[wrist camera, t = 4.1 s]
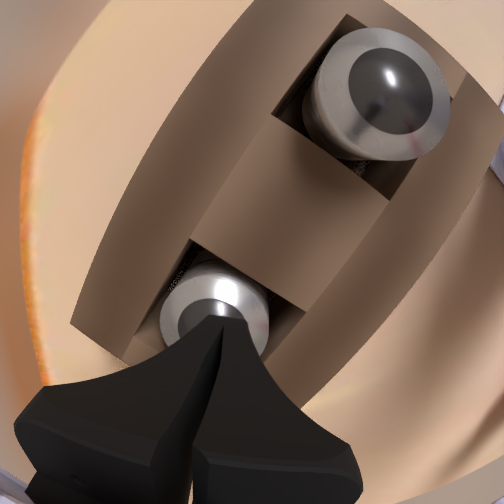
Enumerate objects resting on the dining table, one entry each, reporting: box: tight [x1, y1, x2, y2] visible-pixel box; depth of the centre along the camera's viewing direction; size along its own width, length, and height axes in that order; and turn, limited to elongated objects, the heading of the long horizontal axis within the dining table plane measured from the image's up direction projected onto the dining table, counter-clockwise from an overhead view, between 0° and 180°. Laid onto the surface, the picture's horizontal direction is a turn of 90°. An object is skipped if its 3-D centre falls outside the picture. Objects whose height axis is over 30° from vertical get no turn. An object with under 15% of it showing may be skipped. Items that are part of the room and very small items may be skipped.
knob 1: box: [160, 249, 269, 356], centre depth 16 cm, size 5×5×6 cm
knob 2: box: [302, 28, 451, 161], centre depth 12 cm, size 5×5×6 cm
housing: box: [70, 0, 504, 409], centre depth 15 cm, size 13×22×6 cm, turn 146°
